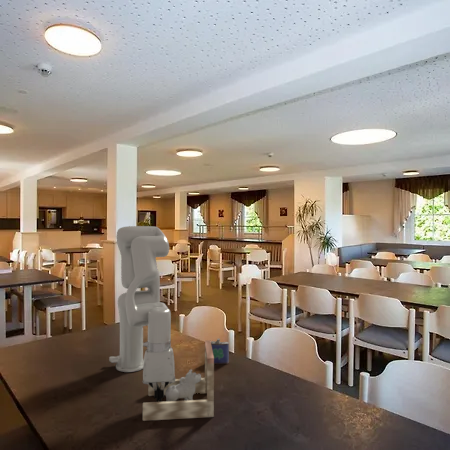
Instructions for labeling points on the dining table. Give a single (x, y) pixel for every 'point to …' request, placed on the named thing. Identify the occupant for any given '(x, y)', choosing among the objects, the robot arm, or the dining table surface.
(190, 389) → the dog figurine
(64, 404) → the dining table surface
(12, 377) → the dining table surface
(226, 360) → the flask
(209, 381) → the channel
